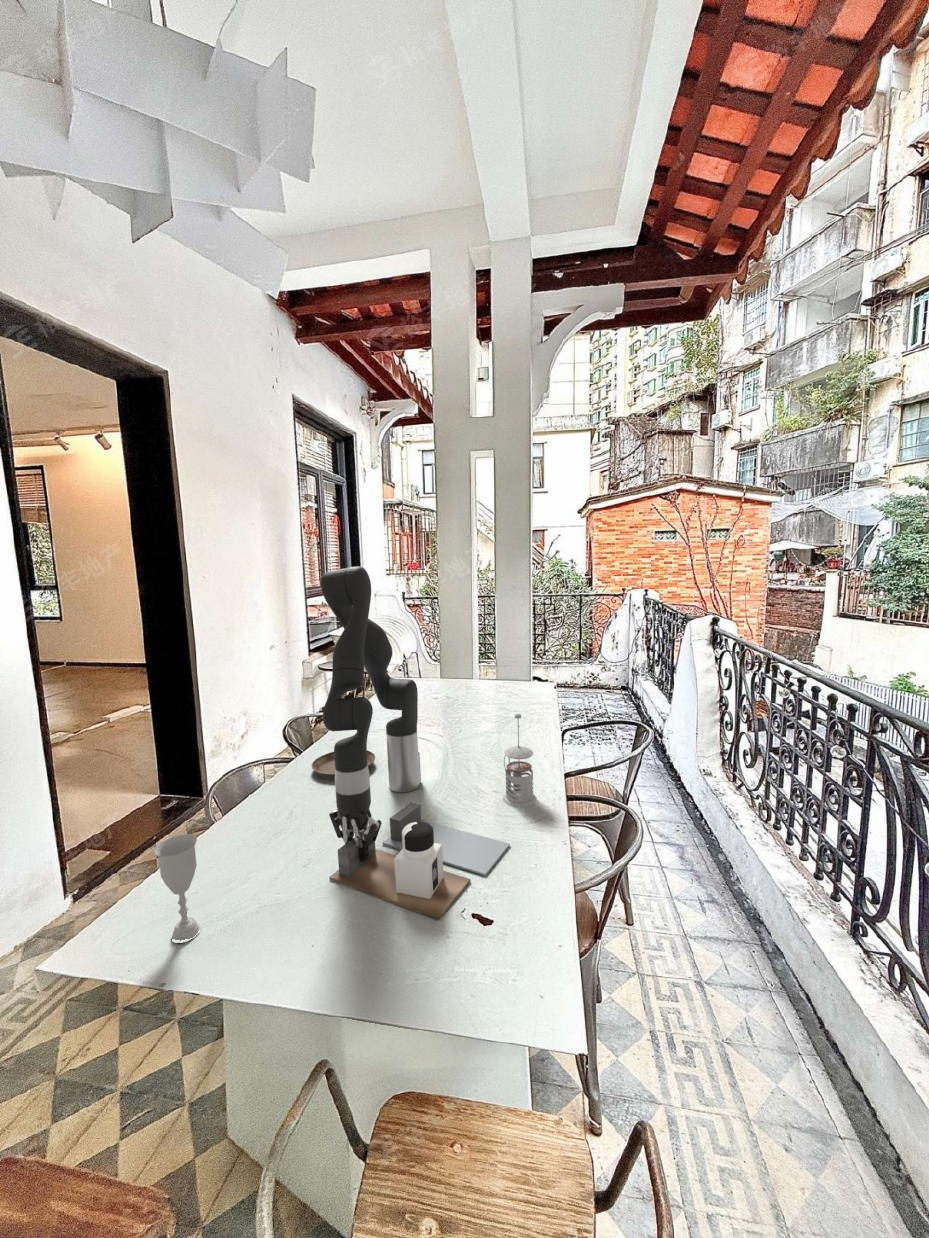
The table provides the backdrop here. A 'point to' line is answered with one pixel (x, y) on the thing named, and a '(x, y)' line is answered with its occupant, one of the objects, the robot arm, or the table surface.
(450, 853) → the grey board with block
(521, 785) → the french press
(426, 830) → the container
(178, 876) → the chalice
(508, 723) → the table surface
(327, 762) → the plant saucer
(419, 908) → the brown board
